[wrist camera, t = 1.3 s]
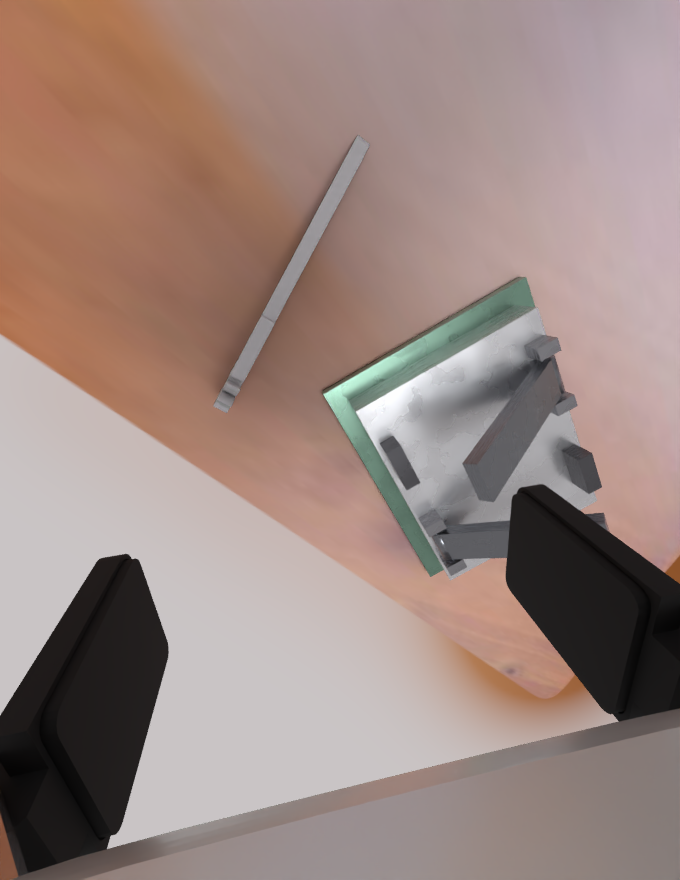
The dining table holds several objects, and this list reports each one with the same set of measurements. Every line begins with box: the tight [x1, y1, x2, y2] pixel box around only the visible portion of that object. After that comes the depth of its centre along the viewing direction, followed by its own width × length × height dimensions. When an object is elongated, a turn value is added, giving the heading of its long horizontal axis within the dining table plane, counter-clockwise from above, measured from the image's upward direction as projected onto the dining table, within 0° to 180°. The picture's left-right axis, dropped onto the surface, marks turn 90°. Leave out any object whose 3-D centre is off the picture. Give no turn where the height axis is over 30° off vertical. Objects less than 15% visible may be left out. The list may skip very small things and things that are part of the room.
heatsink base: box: [322, 277, 602, 580], centre depth 34 cm, size 18×22×6 cm
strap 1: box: [462, 355, 565, 502], centre depth 27 cm, size 13×3×1 cm
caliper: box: [213, 135, 370, 413], centre depth 27 cm, size 20×1×6 cm, turn 148°
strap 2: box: [431, 513, 609, 560], centre depth 31 cm, size 13×3×1 cm
